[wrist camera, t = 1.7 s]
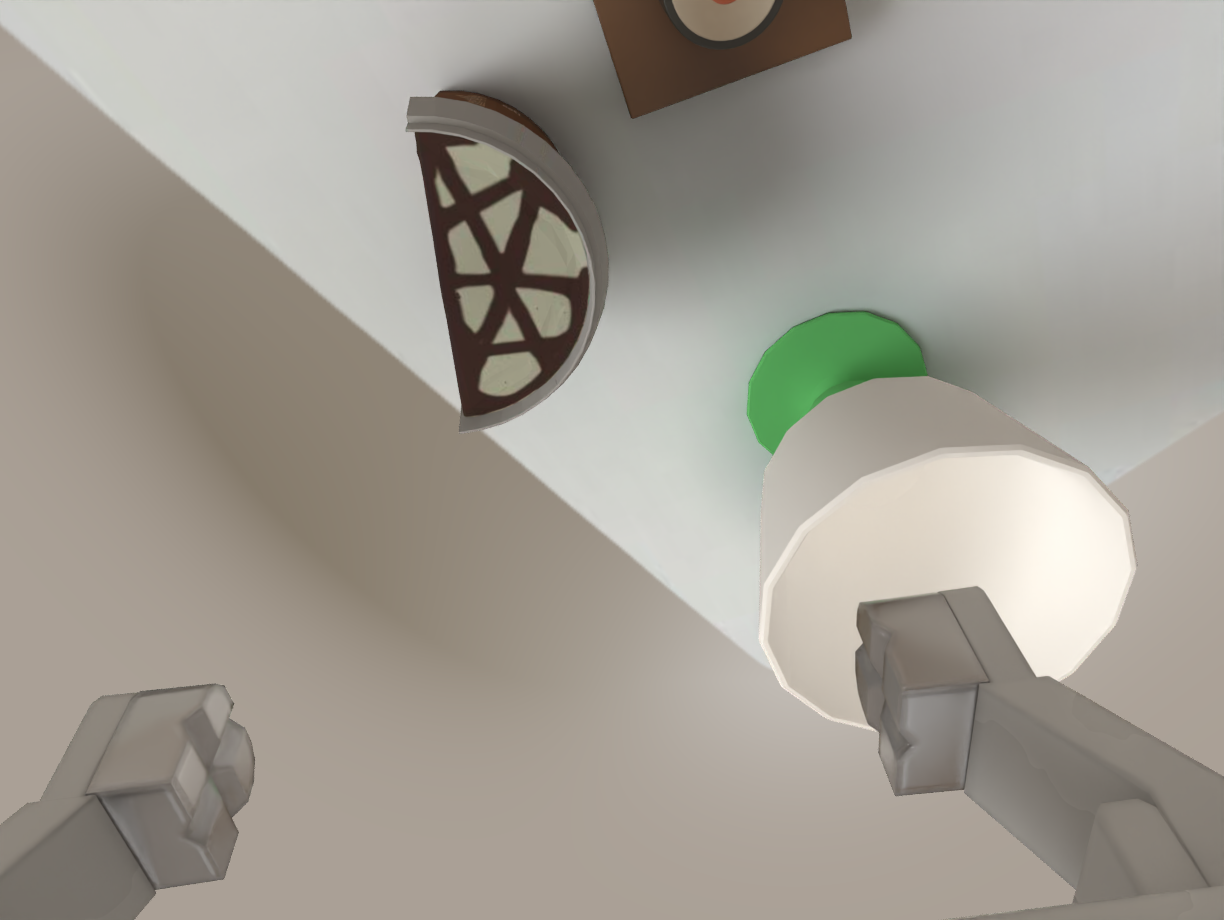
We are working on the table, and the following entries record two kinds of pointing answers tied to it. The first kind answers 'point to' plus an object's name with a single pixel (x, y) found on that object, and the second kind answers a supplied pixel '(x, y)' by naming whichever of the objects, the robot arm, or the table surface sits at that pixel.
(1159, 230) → the table surface
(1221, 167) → the table surface
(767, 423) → the cup
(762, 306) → the table surface
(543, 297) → the food container
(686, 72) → the sushi board
